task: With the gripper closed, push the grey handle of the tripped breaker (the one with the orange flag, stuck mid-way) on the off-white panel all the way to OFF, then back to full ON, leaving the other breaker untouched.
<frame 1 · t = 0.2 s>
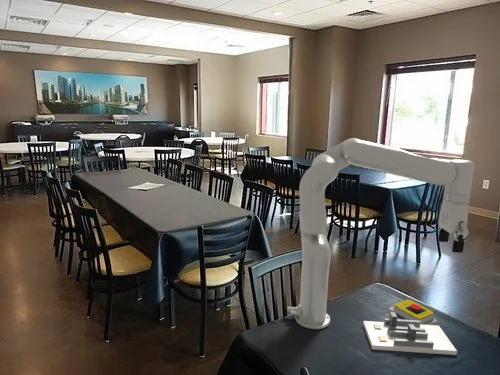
hand: (450, 246, 124), 31 cm above the table, fingers open, 9 cm apart
emergency button: (411, 316, 140), on the table
tripped breaker: (411, 333, 120), point 4 cm above the table, slide at 0.0 cm
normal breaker: (392, 320, 127), point 4 cm above the table, slide at -4.0 cm
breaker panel: (406, 338, 124), on the table
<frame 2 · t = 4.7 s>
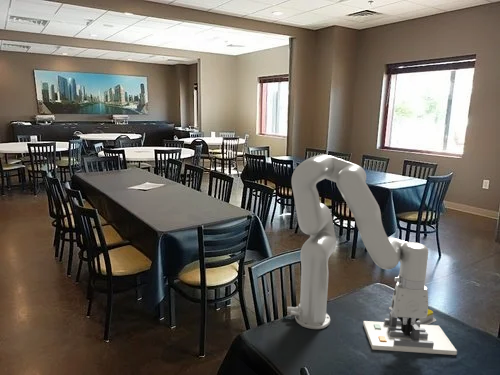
hand: (406, 333, 120), 4 cm above the table, fingers closed
tripped breaker: (415, 333, 120), point 4 cm above the table, slide at 1.1 cm, touching gripper
everything else where it was.
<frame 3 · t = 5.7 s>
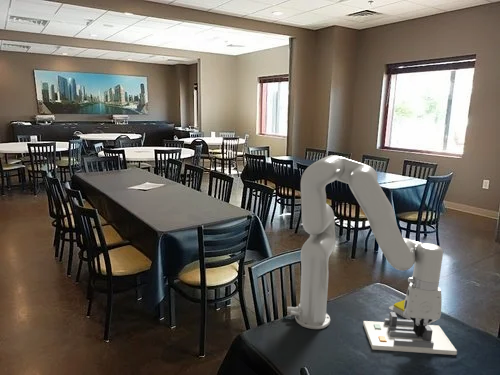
hand: (418, 334, 120), 4 cm above the table, fingers closed
tripped breaker: (427, 334, 120), point 4 cm above the table, slide at 4.9 cm, touching gripper
everything else where it was.
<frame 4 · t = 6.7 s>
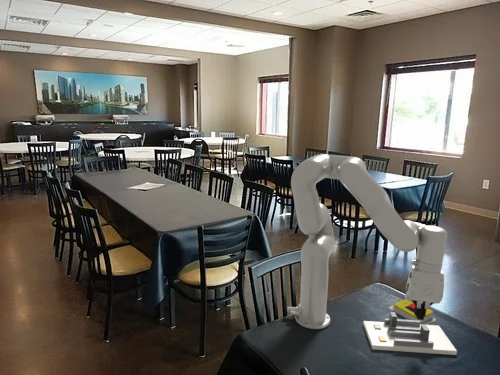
hand: (419, 317, 119), 10 cm above the table, fingers closed
tripped breaker: (424, 334, 120), point 4 cm above the table, slide at 4.1 cm
everything else where it was.
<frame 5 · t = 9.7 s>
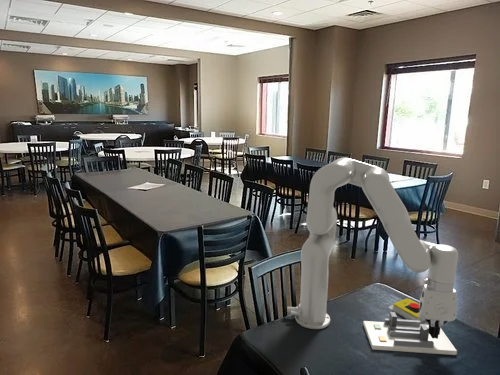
hand: (433, 335, 120), 4 cm above the table, fingers closed
tripped breaker: (424, 334, 120), point 4 cm above the table, slide at 3.9 cm, touching gripper
everything else where it was.
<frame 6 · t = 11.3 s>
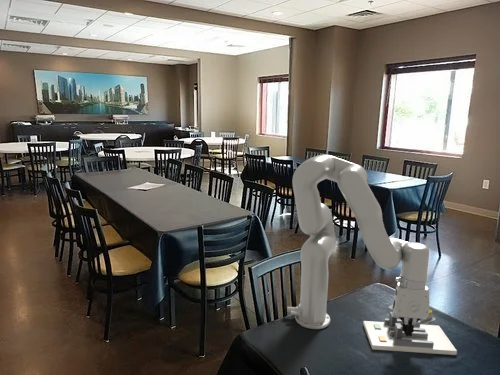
hand: (407, 333, 120), 4 cm above the table, fingers closed
tripped breaker: (398, 332, 120), point 4 cm above the table, slide at -4.2 cm, touching gripper
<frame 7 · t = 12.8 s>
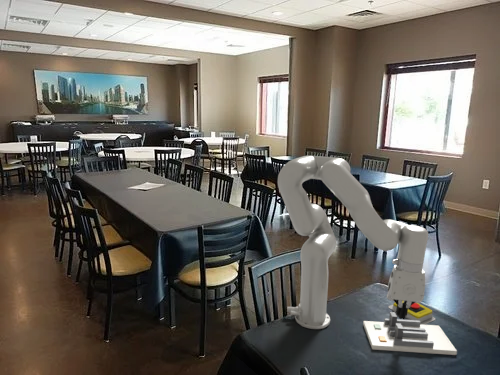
hand: (400, 316, 120), 10 cm above the table, fingers closed
tripped breaker: (398, 332, 120), point 4 cm above the table, slide at -4.1 cm
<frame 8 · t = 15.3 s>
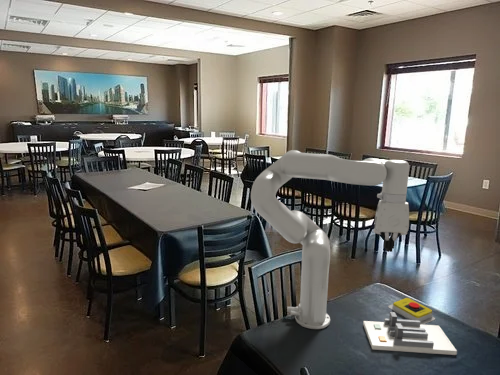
hand: (388, 250, 125), 29 cm above the table, fingers closed
at the end: tripped breaker slide at -4.1 cm; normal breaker slide at -4.0 cm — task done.
